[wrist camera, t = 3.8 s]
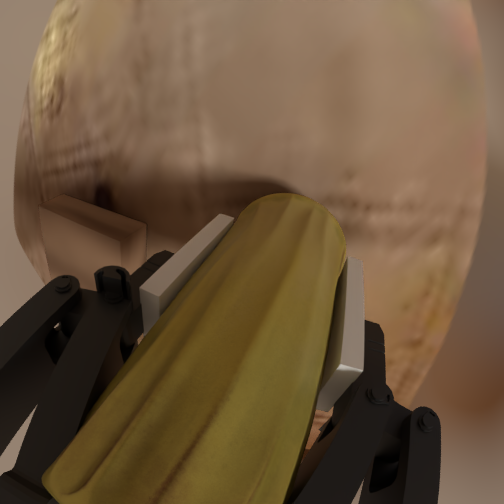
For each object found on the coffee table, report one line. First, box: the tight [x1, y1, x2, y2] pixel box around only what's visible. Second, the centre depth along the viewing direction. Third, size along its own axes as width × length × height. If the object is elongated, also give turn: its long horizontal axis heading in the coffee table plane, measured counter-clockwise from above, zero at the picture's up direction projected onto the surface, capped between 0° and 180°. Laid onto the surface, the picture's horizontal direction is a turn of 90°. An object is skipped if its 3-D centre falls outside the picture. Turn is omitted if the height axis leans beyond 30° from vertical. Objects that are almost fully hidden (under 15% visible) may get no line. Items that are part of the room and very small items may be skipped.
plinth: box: [38, 194, 147, 291], centre depth 21 cm, size 10×10×3 cm
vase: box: [41, 193, 346, 504], centre depth 9 cm, size 6×6×14 cm
